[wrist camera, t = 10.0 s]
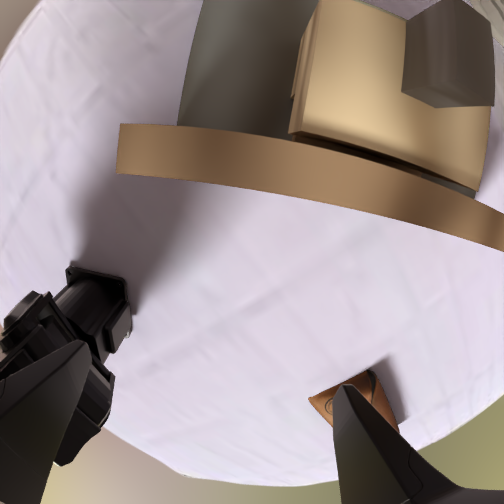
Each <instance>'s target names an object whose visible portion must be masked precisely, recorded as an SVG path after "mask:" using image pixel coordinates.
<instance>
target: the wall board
mask: <svg viewBox="0 0 504 504" xmlns="http://www.w3.org/2000/svg"><path fill="white" fill-rule="evenodd" d="M318 2H319V0H204V1H203V5H202V8H201V12H200V15H199V19H198V23H197V27H196V31H195V35H194V39H193V43H192V47H191V52H190V56H189V61H188V66H187V70H186V75H185V81H184V86H183V91H182V97H181V103H180V109H179V115H178V121H177V126H173V125H155V124H120V131H119V140H118V150H117V162H116V173H120V174H132V175H143V176H153V177H163V178H172V179H180V180H189V181H197V182H204V183H212V184H219V185H226V186H232V187H239V188H245V189H252V190H258V191H264V192H270V193H275V194H281V195H286V196H292V197H297V198H302V199H308V200H313V201H318V202H322V203H327V204H332V205H337V206H341V207H346V208H350V209H355V210H359V211H363V212H368V213H372V214H376V215H380V216H384V217H388V218H392V219H396V220H400V221H404V222H408V223H411V224H415V225H419V226H422V227H426V228H430V229H433V230H437V231H440V232H443V233H447V234H450V235H454V236H457V237H460V238H463V239H466V240H470V241H473V242H476V243H479V244H482V245H485V246H488V247H491V248H494V249H497V250H500V251H502V252H504V214H503V213H501V212H499V211H497V210H495V209H493V208H491V207H489V206H487V205H485V204H483V203H481V202H479V201H476V200H474V198H475V194H476V191H474V190H472V189H469V188H466V187H463V186H460V185H457V184H455V183H452V182H448V181H445V180H442V179H439V178H436V177H433V176H430V175H427V174H425V173H422V172H420V171H417V170H414V169H412V168H409V167H406V166H403V165H400V164H398V163H395V162H392V161H389V160H386V159H383V158H380V157H376V156H373V155H370V154H367V153H363V152H360V151H356V150H353V149H349V148H346V147H342V146H338V145H334V144H331V143H327V142H322V141H318V140H314V139H310V138H305V137H301V136H296V135H291V134H288V130H289V124H290V119H291V113H292V108H293V102H294V99H291V94H292V88H293V82H294V77H295V71H296V65H297V60H298V54H299V48H300V42H301V39H302V36H303V34H304V32H305V30H306V28H307V26H308V23H309V21H310V19H311V17H312V15H313V13H314V11H315V9H316V7H317V4H318Z"/></svg>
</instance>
